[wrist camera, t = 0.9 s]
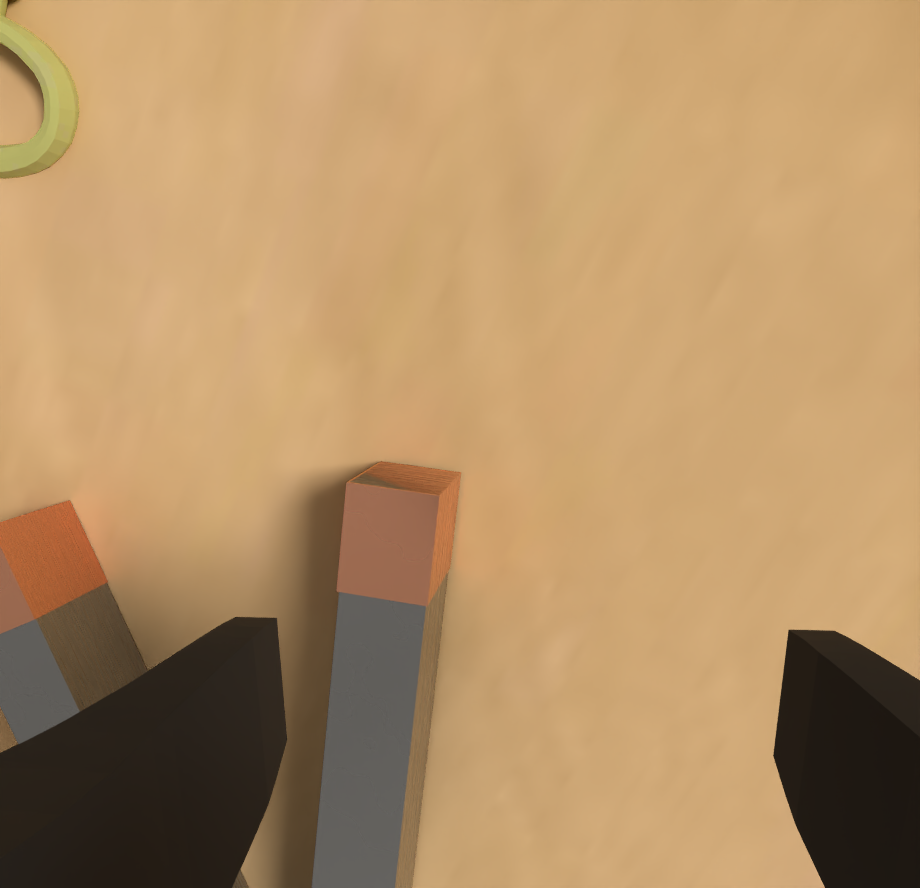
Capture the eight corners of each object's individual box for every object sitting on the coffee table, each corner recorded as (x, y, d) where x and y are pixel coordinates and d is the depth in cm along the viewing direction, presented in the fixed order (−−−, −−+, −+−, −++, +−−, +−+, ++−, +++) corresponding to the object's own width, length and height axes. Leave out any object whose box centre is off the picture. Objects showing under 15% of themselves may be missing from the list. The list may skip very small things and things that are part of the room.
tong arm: (391, 1082, 27) (360, 1199, 24) (276, 1053, 28) (228, 1164, 24) (460, 472, 24) (438, 497, 20) (329, 454, 25) (283, 475, 21)
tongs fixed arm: (290, 974, 28) (246, 1067, 24) (228, 991, 28) (177, 1086, 25) (69, 500, 26) (-10, 525, 23) (9, 527, 27) (-77, 555, 23)
